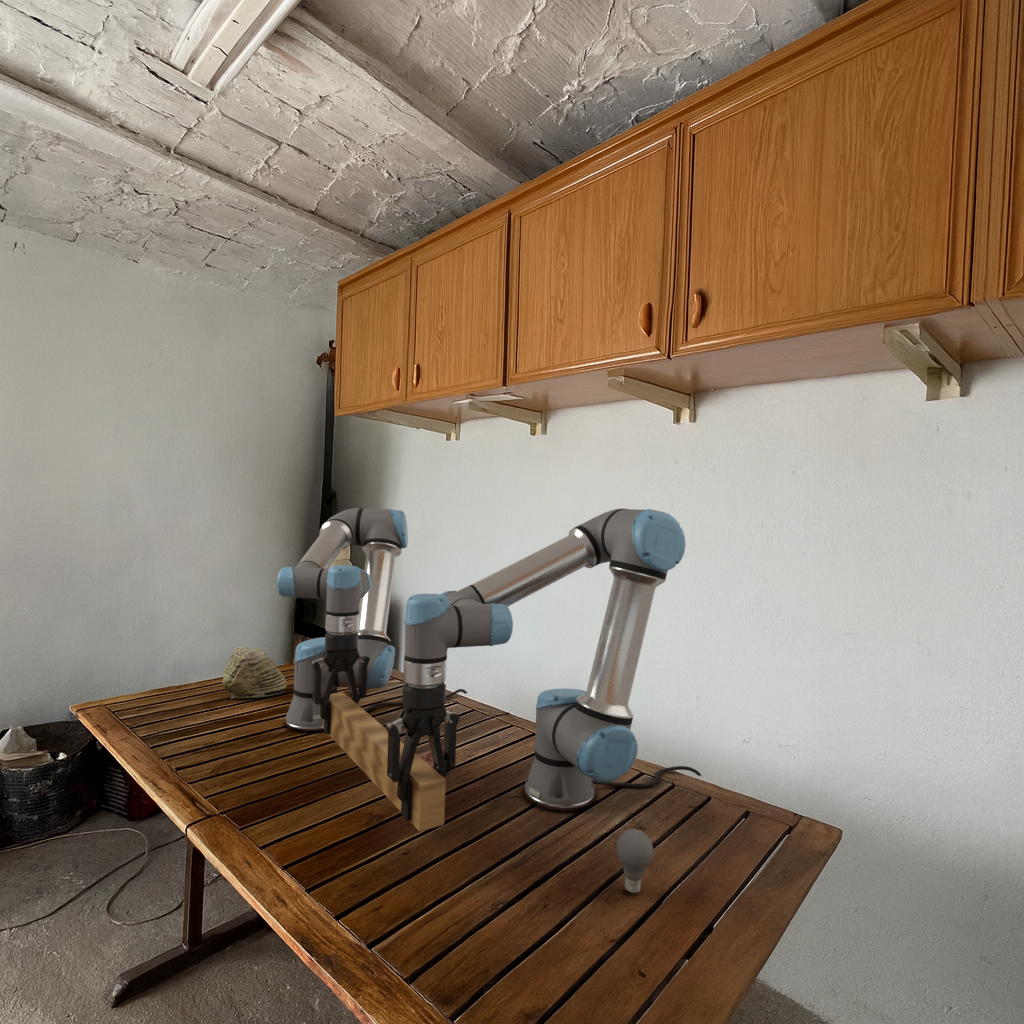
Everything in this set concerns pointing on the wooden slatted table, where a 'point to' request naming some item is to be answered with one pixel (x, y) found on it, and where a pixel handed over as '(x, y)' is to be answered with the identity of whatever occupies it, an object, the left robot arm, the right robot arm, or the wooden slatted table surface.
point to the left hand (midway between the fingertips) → (338, 729)
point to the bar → (371, 753)
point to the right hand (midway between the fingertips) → (420, 812)
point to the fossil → (252, 674)
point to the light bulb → (634, 857)
